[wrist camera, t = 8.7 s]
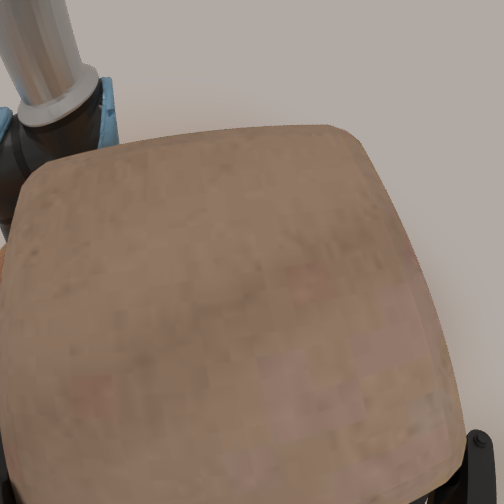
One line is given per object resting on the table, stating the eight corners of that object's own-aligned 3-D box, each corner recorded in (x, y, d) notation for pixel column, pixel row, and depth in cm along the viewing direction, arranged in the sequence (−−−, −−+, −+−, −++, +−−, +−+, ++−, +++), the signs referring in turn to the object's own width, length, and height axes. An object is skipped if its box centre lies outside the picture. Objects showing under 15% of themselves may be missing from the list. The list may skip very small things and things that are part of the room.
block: (155, 330, 24) (19, 156, 7) (273, 313, 26) (357, 111, 8) (173, 448, 20) (15, 545, 2) (298, 428, 21) (487, 471, 4)
